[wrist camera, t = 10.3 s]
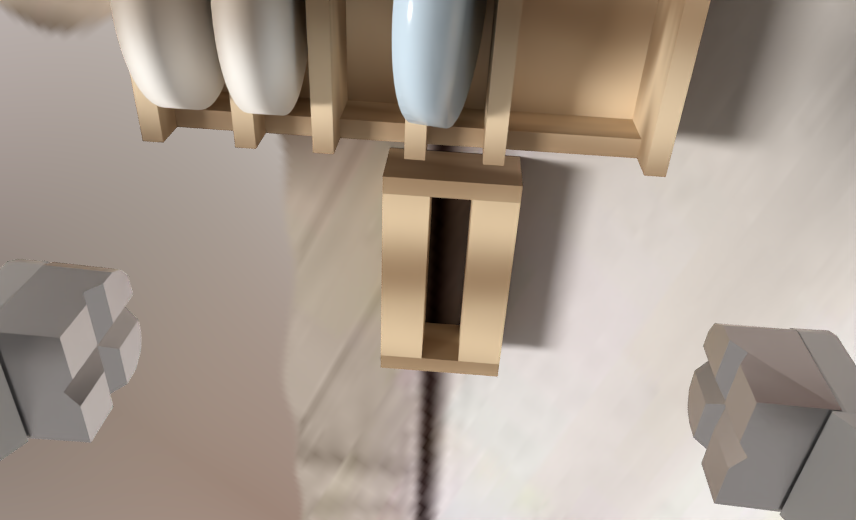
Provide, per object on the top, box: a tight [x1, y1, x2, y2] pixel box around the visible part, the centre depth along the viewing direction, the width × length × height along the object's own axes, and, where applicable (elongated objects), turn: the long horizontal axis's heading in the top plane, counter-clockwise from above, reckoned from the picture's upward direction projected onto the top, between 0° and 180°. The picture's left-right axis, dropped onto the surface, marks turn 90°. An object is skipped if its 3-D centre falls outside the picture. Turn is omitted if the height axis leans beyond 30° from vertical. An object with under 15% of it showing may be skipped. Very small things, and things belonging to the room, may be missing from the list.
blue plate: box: [392, 0, 487, 129], centre depth 24 cm, size 8×1×8 cm, turn 176°
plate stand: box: [381, 148, 523, 376], centre depth 34 cm, size 11×6×3 cm, turn 178°
